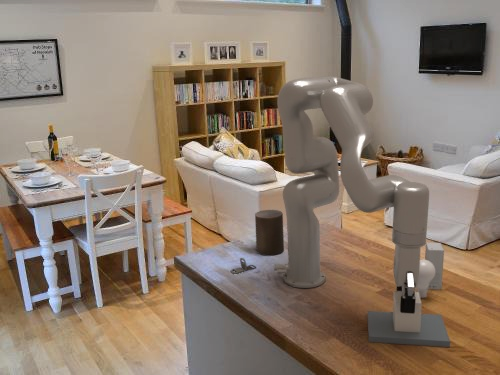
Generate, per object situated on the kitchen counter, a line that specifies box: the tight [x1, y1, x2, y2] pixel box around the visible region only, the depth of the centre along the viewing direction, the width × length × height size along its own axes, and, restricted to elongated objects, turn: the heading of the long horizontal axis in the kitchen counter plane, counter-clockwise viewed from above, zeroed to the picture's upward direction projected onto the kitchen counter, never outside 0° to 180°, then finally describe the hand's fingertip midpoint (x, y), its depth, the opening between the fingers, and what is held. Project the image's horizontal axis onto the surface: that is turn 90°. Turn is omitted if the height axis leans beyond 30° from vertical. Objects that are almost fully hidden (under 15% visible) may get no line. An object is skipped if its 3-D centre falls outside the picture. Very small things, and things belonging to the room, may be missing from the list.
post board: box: [366, 310, 451, 348], centre depth 120 cm, size 18×12×8 cm, turn 79°
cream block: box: [392, 290, 422, 333], centre depth 119 cm, size 6×6×8 cm
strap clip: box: [230, 257, 257, 275], centre depth 159 cm, size 8×3×4 cm, turn 122°
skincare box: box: [424, 241, 445, 290], centre depth 142 cm, size 6×4×12 cm
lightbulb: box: [416, 258, 436, 299], centre depth 135 cm, size 6×6×11 cm
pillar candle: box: [254, 209, 285, 257], centre depth 172 cm, size 10×10×15 cm
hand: (405, 302), depth 119 cm, fingers open, 9 cm apart
